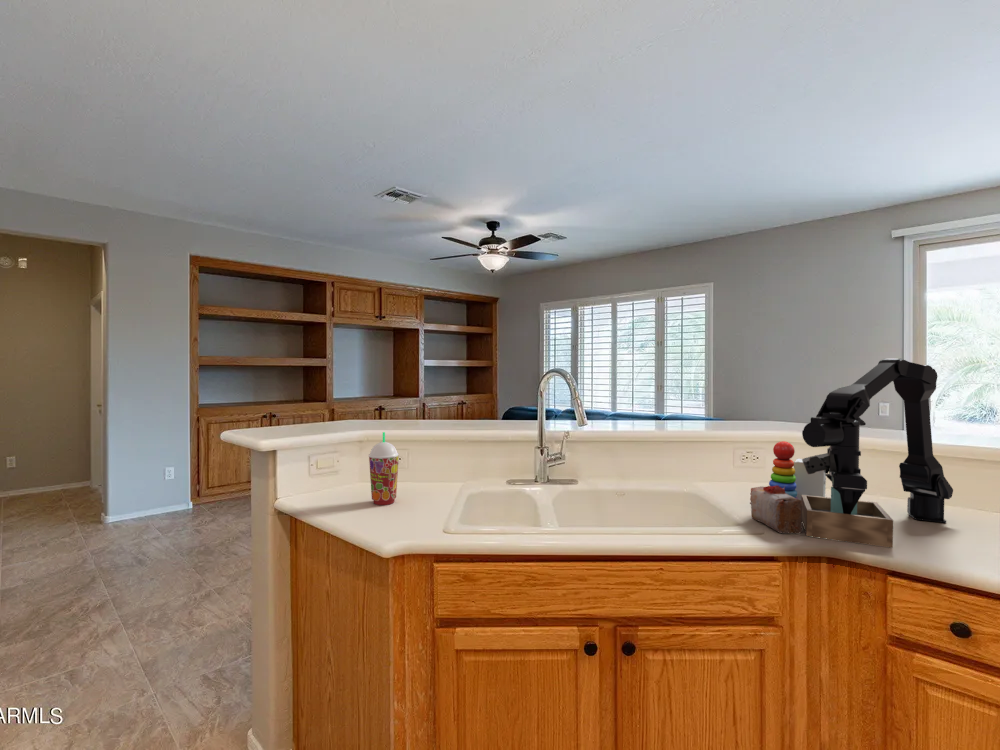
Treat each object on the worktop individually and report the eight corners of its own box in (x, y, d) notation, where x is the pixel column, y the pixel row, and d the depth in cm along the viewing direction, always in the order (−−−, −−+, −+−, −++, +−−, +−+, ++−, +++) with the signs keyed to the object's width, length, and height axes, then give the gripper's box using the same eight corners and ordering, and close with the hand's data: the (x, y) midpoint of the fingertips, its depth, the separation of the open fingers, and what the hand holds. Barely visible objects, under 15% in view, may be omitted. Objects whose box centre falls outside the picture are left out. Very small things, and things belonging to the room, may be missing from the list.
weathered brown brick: (745, 517, 133) (745, 479, 133) (775, 516, 134) (775, 479, 134) (775, 534, 120) (776, 492, 120) (808, 534, 120) (809, 492, 120)
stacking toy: (759, 507, 142) (760, 440, 141) (779, 504, 145) (780, 438, 145) (785, 515, 135) (786, 444, 134) (805, 512, 138) (807, 442, 137)
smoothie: (362, 504, 143) (362, 433, 143) (380, 497, 151) (380, 429, 151) (387, 508, 140) (387, 435, 140) (404, 500, 148) (404, 431, 148)
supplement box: (823, 511, 139) (824, 464, 138) (792, 506, 143) (792, 461, 143) (826, 505, 145) (826, 460, 144) (795, 501, 149) (796, 457, 149)
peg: (853, 530, 123) (853, 488, 123) (856, 536, 119) (857, 493, 119) (830, 527, 125) (831, 486, 125) (833, 533, 121) (833, 490, 121)
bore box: (876, 526, 126) (877, 502, 125) (892, 547, 111) (893, 520, 111) (801, 517, 133) (801, 494, 133) (806, 536, 118) (807, 510, 118)
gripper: (801, 437, 133) (800, 497, 134) (808, 448, 117) (807, 516, 117) (853, 440, 128) (852, 502, 129) (868, 452, 112) (866, 523, 112)
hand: (843, 510), depth 122 cm, fingers open, 9 cm apart
